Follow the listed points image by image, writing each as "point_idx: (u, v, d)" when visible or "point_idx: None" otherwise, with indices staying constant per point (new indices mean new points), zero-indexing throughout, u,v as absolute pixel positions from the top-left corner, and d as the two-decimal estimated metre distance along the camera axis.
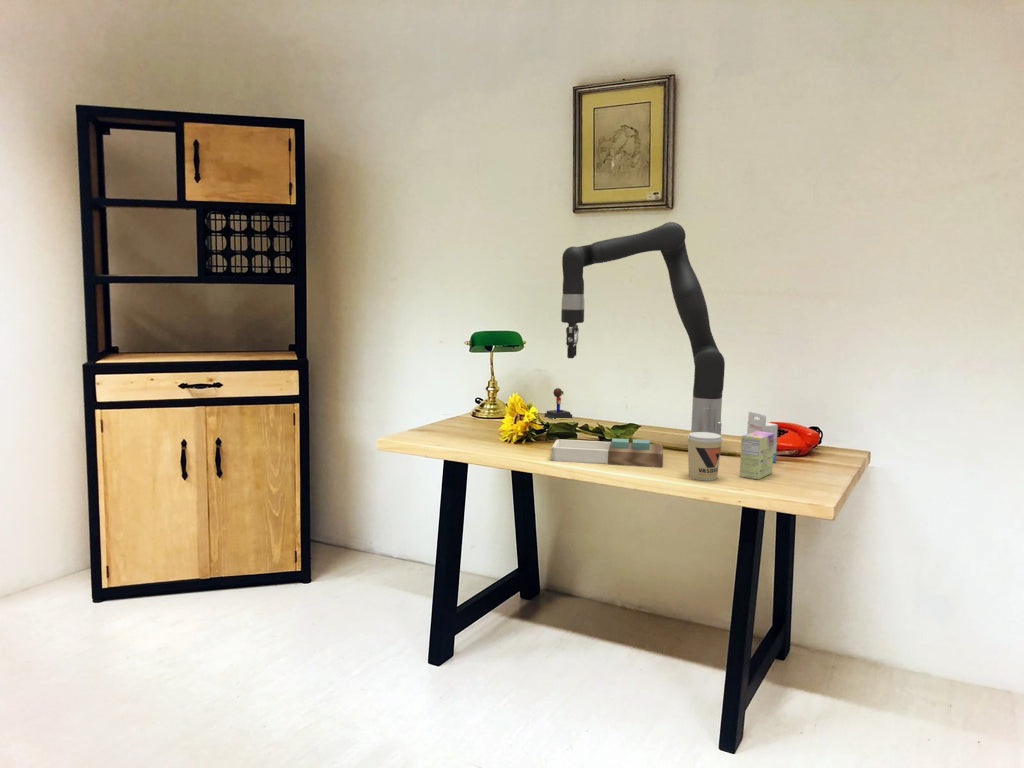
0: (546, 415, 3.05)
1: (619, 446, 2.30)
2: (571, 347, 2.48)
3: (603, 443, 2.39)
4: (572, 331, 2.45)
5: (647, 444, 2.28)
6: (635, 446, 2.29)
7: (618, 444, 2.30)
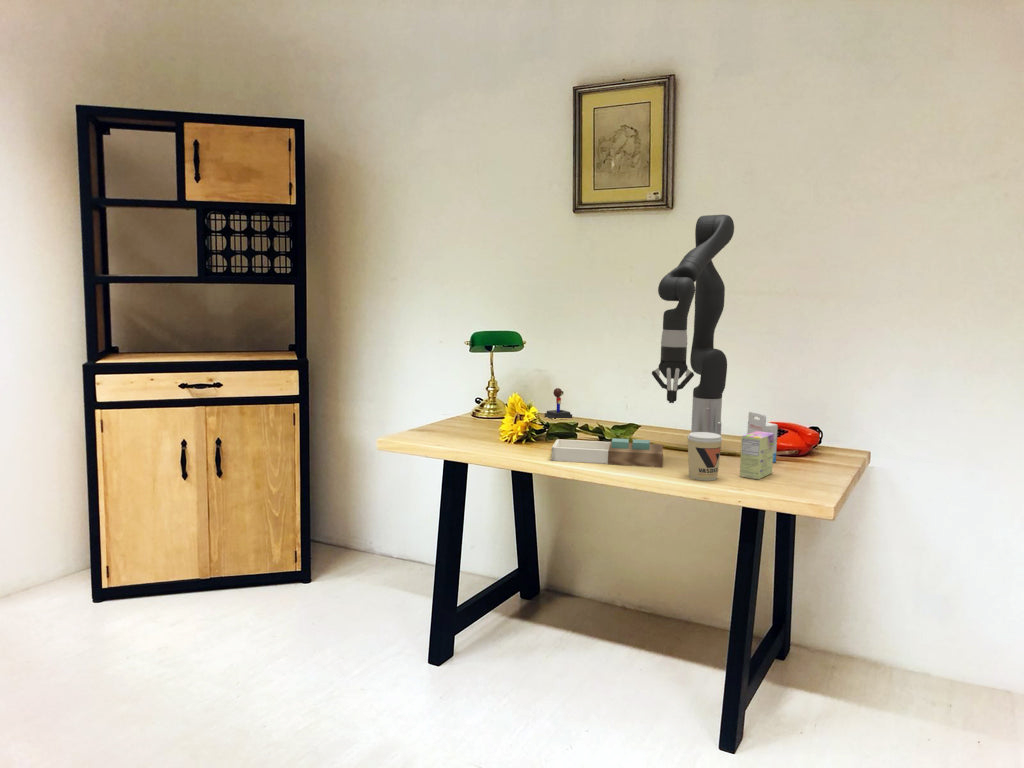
0: (546, 415, 3.05)
1: (619, 446, 2.30)
2: None
3: (603, 443, 2.39)
4: None
5: (647, 444, 2.28)
6: (635, 446, 2.29)
7: (618, 444, 2.30)
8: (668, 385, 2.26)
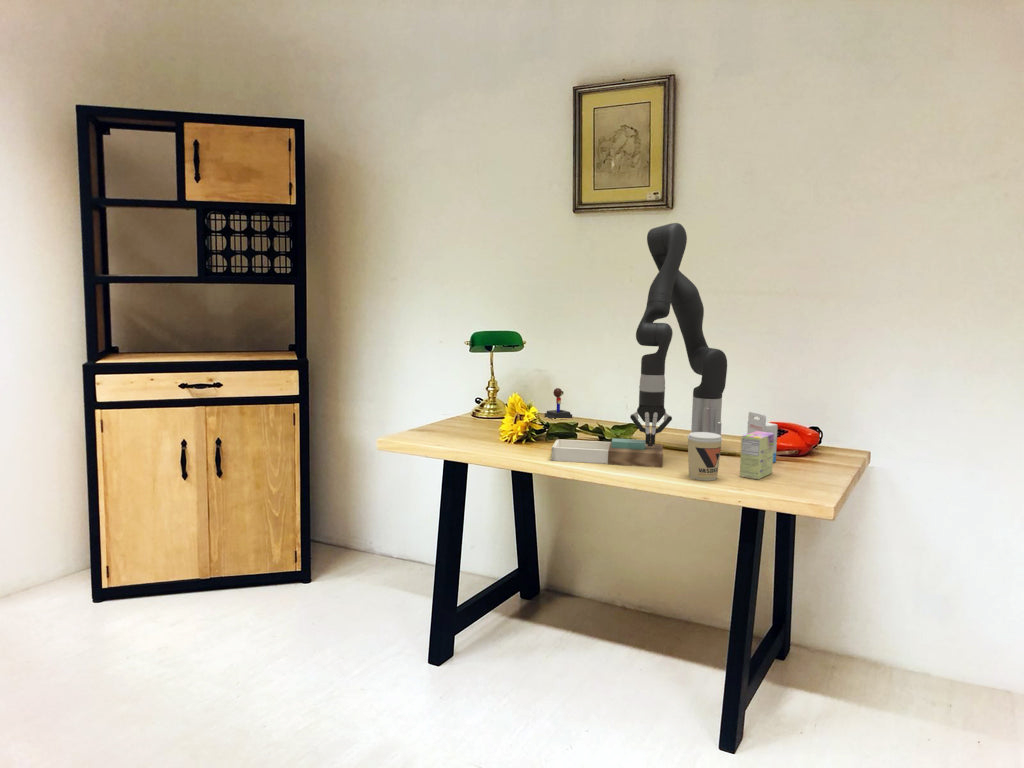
0: (546, 415, 3.05)
1: (619, 446, 2.30)
2: None
3: (603, 443, 2.39)
4: None
5: (643, 444, 2.29)
6: (631, 446, 2.29)
7: (618, 444, 2.30)
8: (646, 429, 2.29)
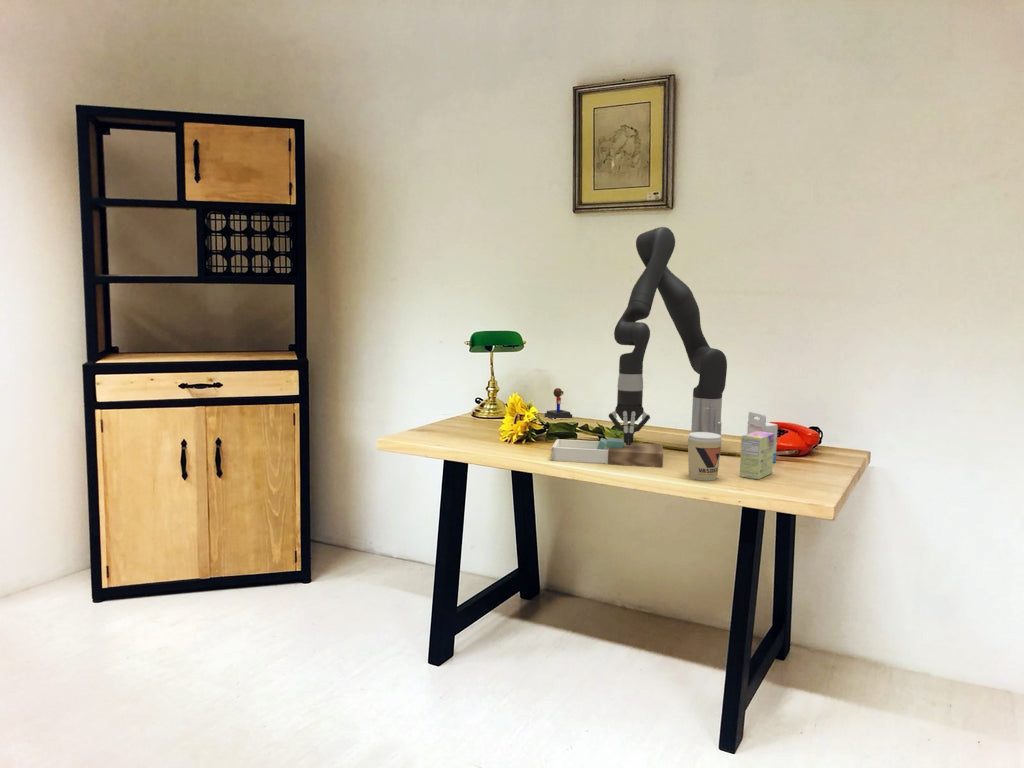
0: (546, 415, 3.05)
1: None
2: (633, 433, 2.31)
3: None
4: None
5: (621, 443, 2.30)
6: (609, 445, 2.31)
7: None
8: (625, 428, 2.30)
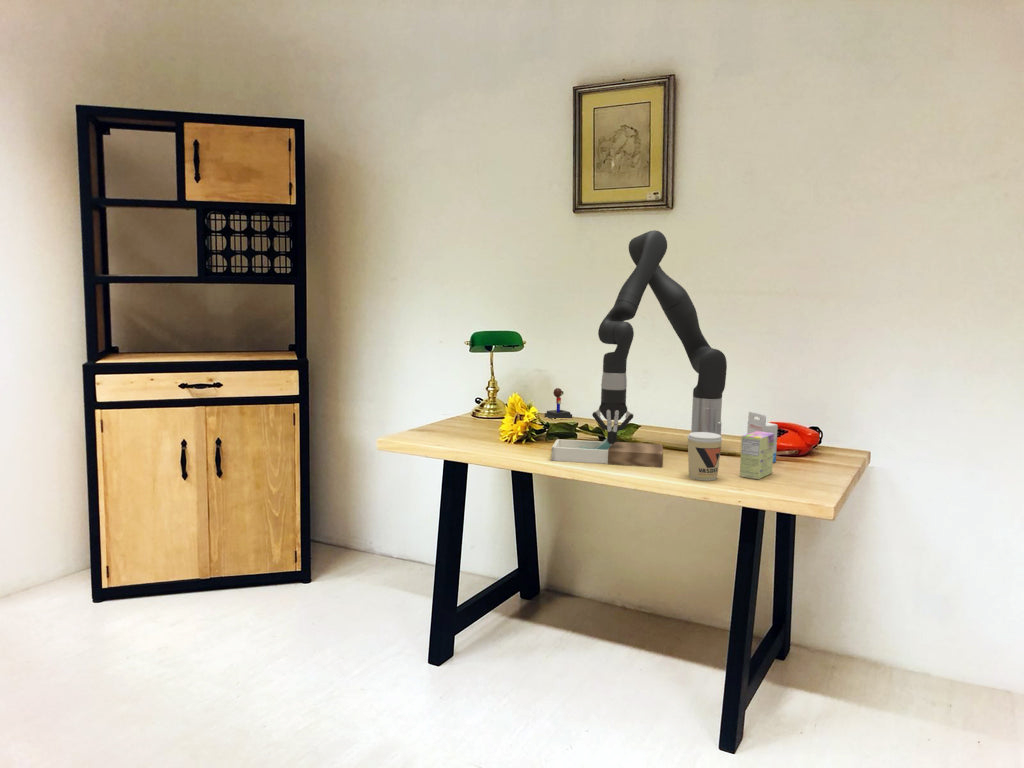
0: (546, 415, 3.05)
1: None
2: (617, 431, 2.32)
3: None
4: None
5: (605, 443, 2.31)
6: None
7: None
8: (608, 426, 2.31)
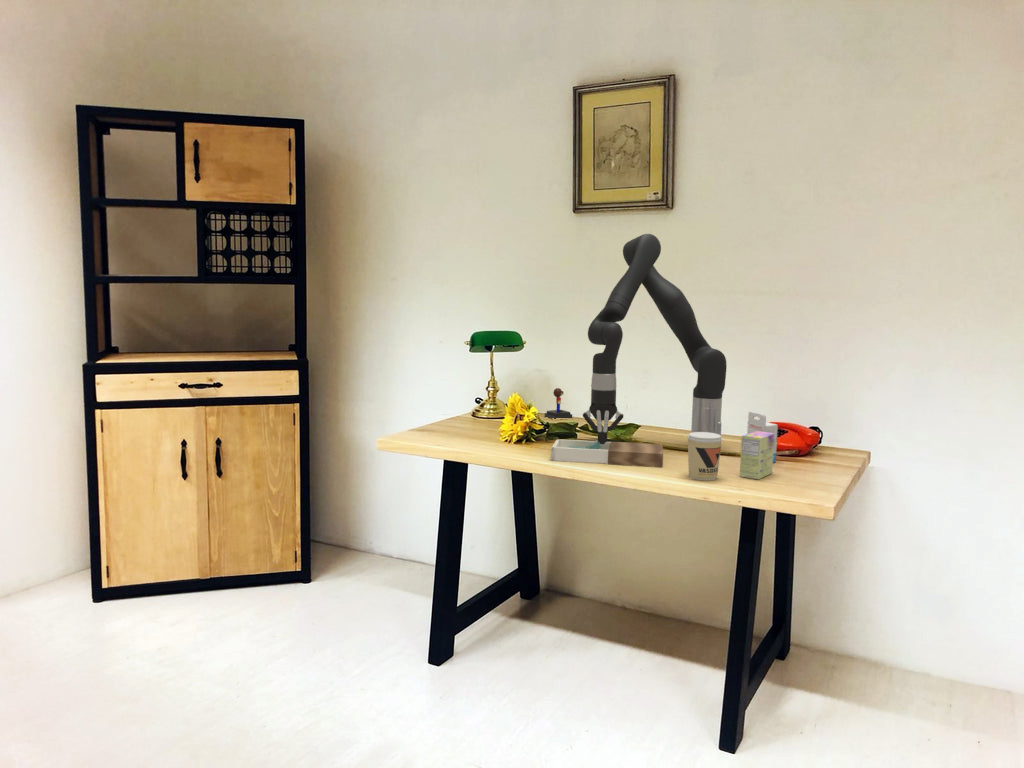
0: (546, 415, 3.05)
1: None
2: (607, 432, 2.33)
3: None
4: None
5: (596, 443, 2.32)
6: None
7: None
8: (598, 427, 2.32)
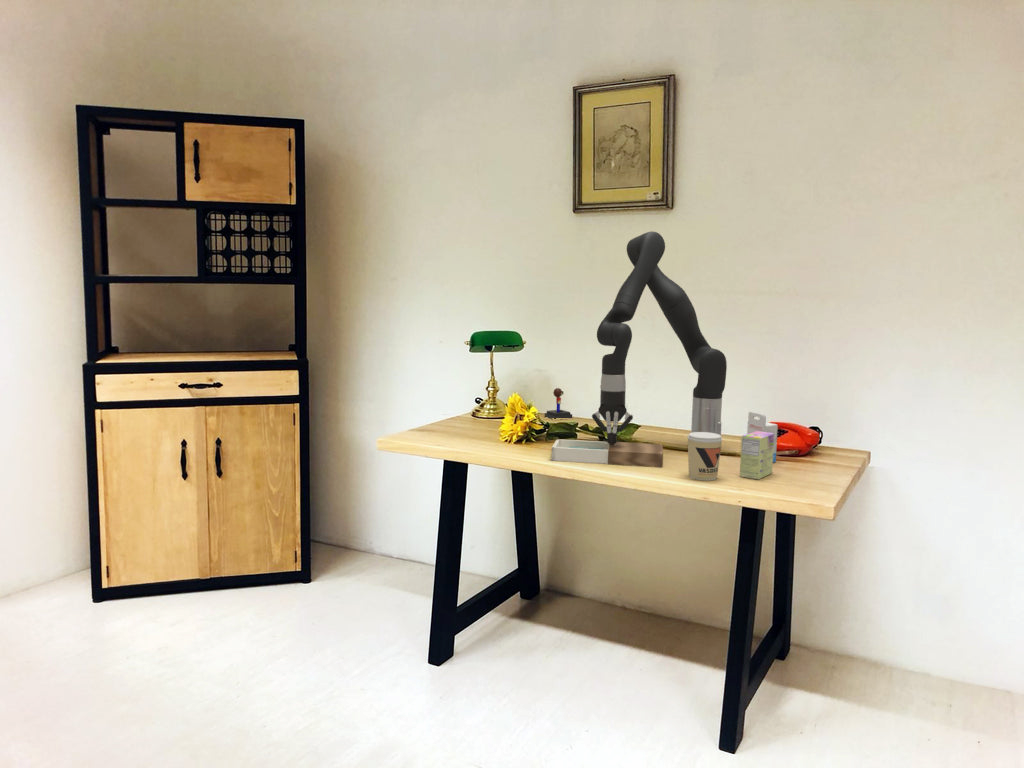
0: (546, 415, 3.05)
1: None
2: None
3: (603, 443, 2.39)
4: None
5: None
6: None
7: None
8: (608, 428, 2.32)
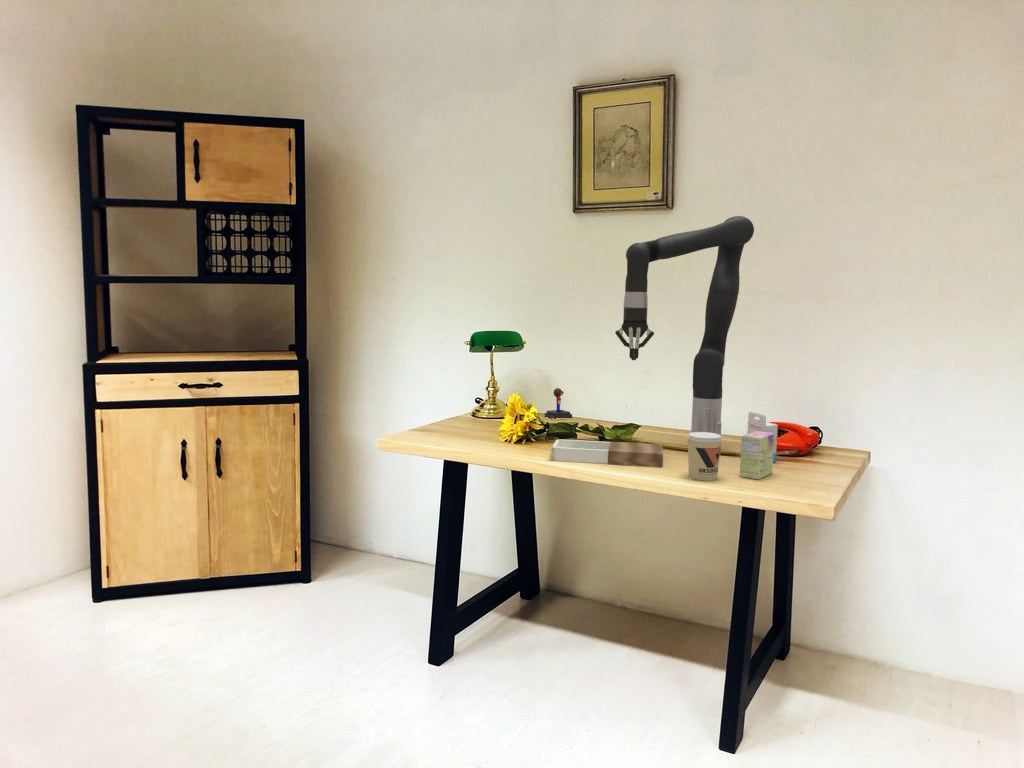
0: (546, 415, 3.05)
1: None
2: (638, 348, 2.46)
3: (603, 443, 2.39)
4: None
5: None
6: None
7: None
8: (630, 343, 2.45)
